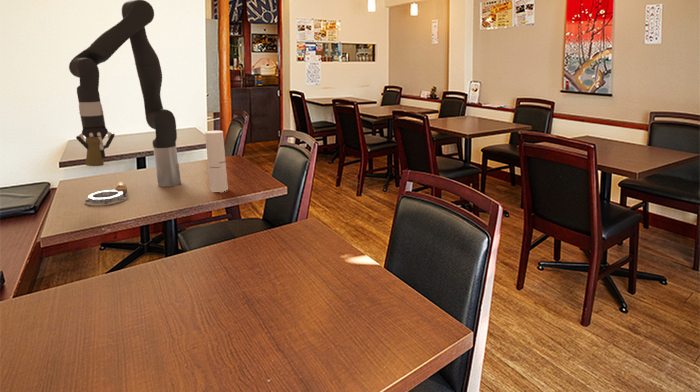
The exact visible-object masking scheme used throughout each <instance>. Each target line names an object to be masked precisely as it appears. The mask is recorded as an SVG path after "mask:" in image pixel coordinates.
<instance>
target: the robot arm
mask: <svg viewBox="0 0 700 392" xmlns="http://www.w3.org/2000/svg"><path fill="white" fill-rule="evenodd" d="M121 16H122V20H120V21H118V22H117V24H114V25H113V26H111V28H109V29H107V30H106V31H104V32H103V33H101V35H99V36H98V37H97V38H96V39H95V40H94V41H93V42H92V43H91V44H90V45H89V46H88V47H87V48H86V49H83V51H80V52H79V53H78V54H77V55H75V56H74V57H73V58H72V59H71V60H70V62H69V65H68V70H69V72H70V73H71V75H73V76H74V77H76V78H79V85H78V86H77V87H76V94H77V95H76V96H77V100H78V110H79V112H78V113H79V115H80V121H81V127H82V130H81V133H79V134H78V135H76V137H75V138H76V140H77V141H78V142H79V143H80V144H81V145H82V146H83V147H84V148H85V149H86V150H87V149H88V144H87V143H86V140H85V139H86V138H87V137H98V138H99V139H100V145H99V146H100V149H101V150H100V151H101V156H102V160H103V161H104V159H105V158H106V153H105V149H107V148H109V147H110V146H111V143H112V141H113V140H114V138H115V136H116V135H115V133H114V132H110V131H108V129H107V127H106V121H105V115H104V110H103V105H102V102H101V95H100V91H99V86H100V69H99V67H98V65H100V64H102V63H106V61H108V60H109V59H110V58H111V57H112V56H113V55H114V54H115V53H116V52H117V51H118V49H120V48H121V47H122V46H123V45H124V44H125V43H126V42H128V40H129V42H130V46H131V50H132V55H133V58H134V65H135V68H136V73H137V77H138V81H139V85H140V90H141V94H142V98H143V104H144V106H143V107H144V114H145V121H146V124H147V125H148V126H149V127H150V128H151V129H153V130H154V131H155V138H154V139H152V148H153V156H154V165H155V170H156V178H157V179H156V180H157V185H158V186H159V187H161V188H162V187H163V188H171V187H176V186H179V185H182V180H181V172H180V163H179V160H178V152H177V143H176V142H177V139H178V137H177V135H178V134H177V133H178V131H177V121H176V117H175V115H174V113H173V112H172V111H170V110H168V109H164V107H163V102H162V97H161V91H162V90H161V89H162V82H163V72H162V67H161V63H160V59H159V56H158V55H157V52H156V51H155V50H154V48H153V46H152V45H151V43H150V41H149V39H148V35H147V31H146V26H147V25H149V24H151V22H152V21H153V20H154V17H155V10H154V8H153V6H152V4H150V3H149V2H148V1H147V0H128V1H125V2H124V3H123V4H122V7H121ZM106 136H107V138H108V139H107V141H106V142H105V144H104V141H103V140H104V139H105V137H106Z"/></svg>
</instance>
